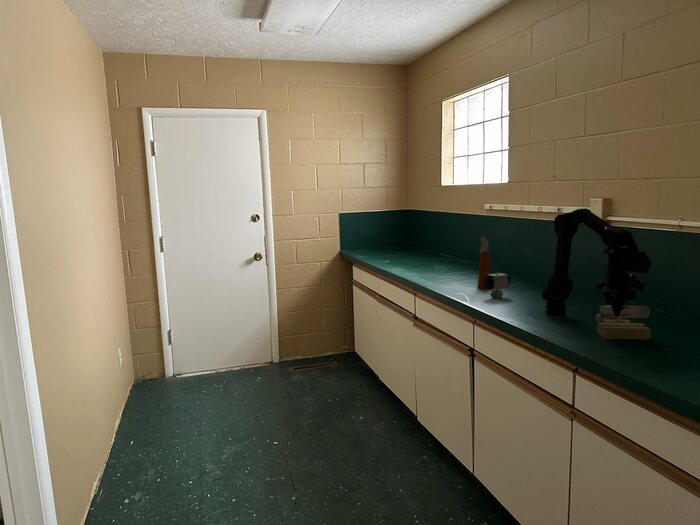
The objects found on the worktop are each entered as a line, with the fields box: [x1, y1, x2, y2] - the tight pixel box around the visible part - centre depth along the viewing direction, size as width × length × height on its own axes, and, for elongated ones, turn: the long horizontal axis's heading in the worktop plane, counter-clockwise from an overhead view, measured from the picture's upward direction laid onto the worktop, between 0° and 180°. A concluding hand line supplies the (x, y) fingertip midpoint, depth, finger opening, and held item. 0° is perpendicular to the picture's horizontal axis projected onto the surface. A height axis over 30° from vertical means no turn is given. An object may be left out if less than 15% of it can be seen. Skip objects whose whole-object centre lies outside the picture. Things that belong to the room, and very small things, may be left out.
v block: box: [596, 322, 652, 340], centre depth 160 cm, size 14×7×4 cm, turn 81°
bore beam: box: [595, 313, 632, 324], centre depth 172 cm, size 8×10×3 cm
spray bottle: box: [476, 236, 492, 290], centre depth 238 cm, size 7×11×26 cm, turn 146°
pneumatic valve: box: [484, 271, 512, 300], centre depth 218 cm, size 6×12×12 cm, turn 111°
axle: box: [599, 304, 651, 319], centre depth 159 cm, size 14×4×4 cm, turn 81°
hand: (614, 314), depth 160 cm, fingers closed on axle, 4 cm apart
